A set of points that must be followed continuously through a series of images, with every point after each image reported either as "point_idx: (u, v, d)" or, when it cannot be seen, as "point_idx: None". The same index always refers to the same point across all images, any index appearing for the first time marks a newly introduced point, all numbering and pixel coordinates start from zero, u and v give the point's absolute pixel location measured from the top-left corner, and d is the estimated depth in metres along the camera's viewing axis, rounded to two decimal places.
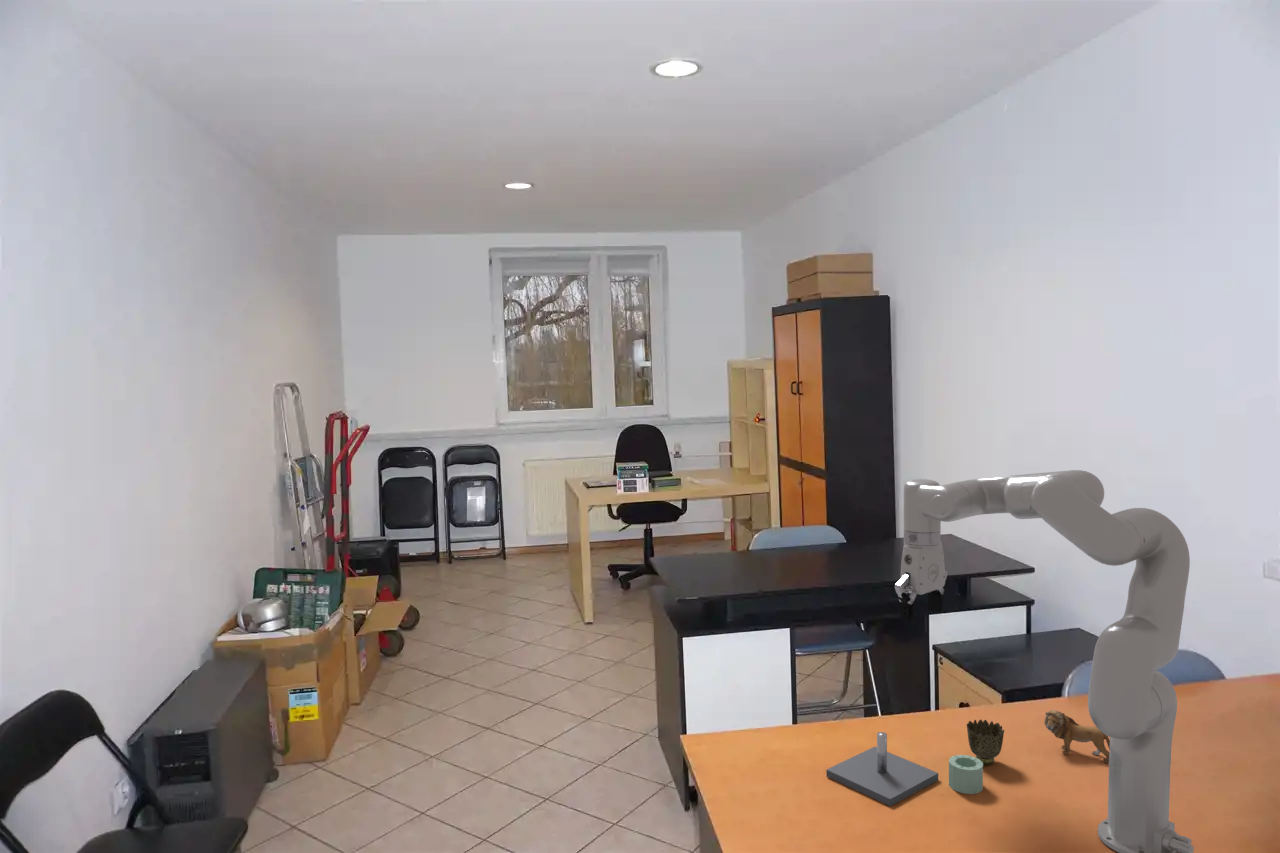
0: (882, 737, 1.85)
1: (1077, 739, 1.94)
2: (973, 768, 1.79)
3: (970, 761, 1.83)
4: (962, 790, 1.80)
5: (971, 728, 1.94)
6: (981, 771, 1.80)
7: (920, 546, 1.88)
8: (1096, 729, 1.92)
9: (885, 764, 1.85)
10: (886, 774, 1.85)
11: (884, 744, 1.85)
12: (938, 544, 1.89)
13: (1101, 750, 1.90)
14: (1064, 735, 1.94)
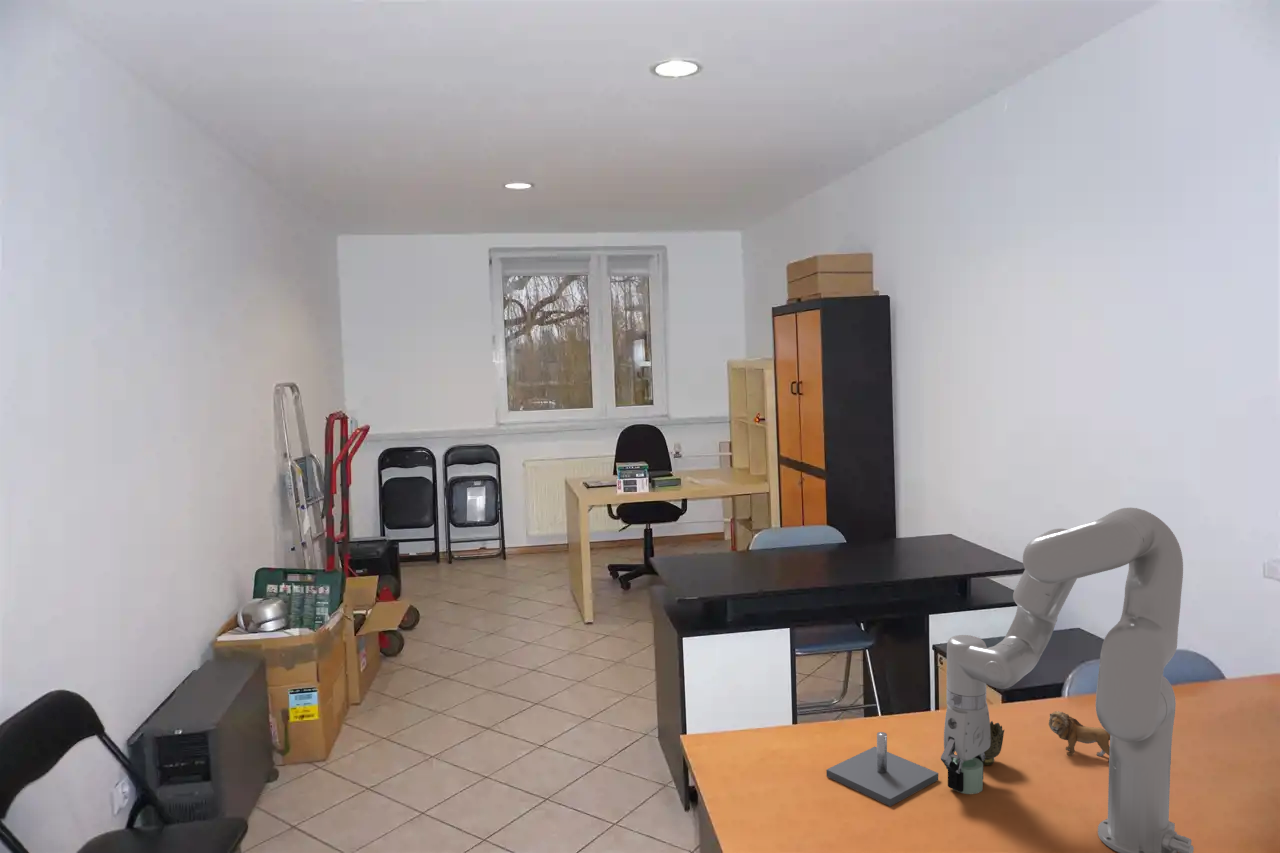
0: (882, 737, 1.85)
1: (1082, 740, 1.93)
2: (973, 768, 1.79)
3: (970, 761, 1.83)
4: None
5: None
6: (981, 771, 1.80)
7: (965, 710, 1.77)
8: (1101, 730, 1.91)
9: (885, 764, 1.85)
10: (886, 774, 1.85)
11: (884, 744, 1.85)
12: (984, 707, 1.78)
13: (1106, 751, 1.90)
14: (1068, 736, 1.94)
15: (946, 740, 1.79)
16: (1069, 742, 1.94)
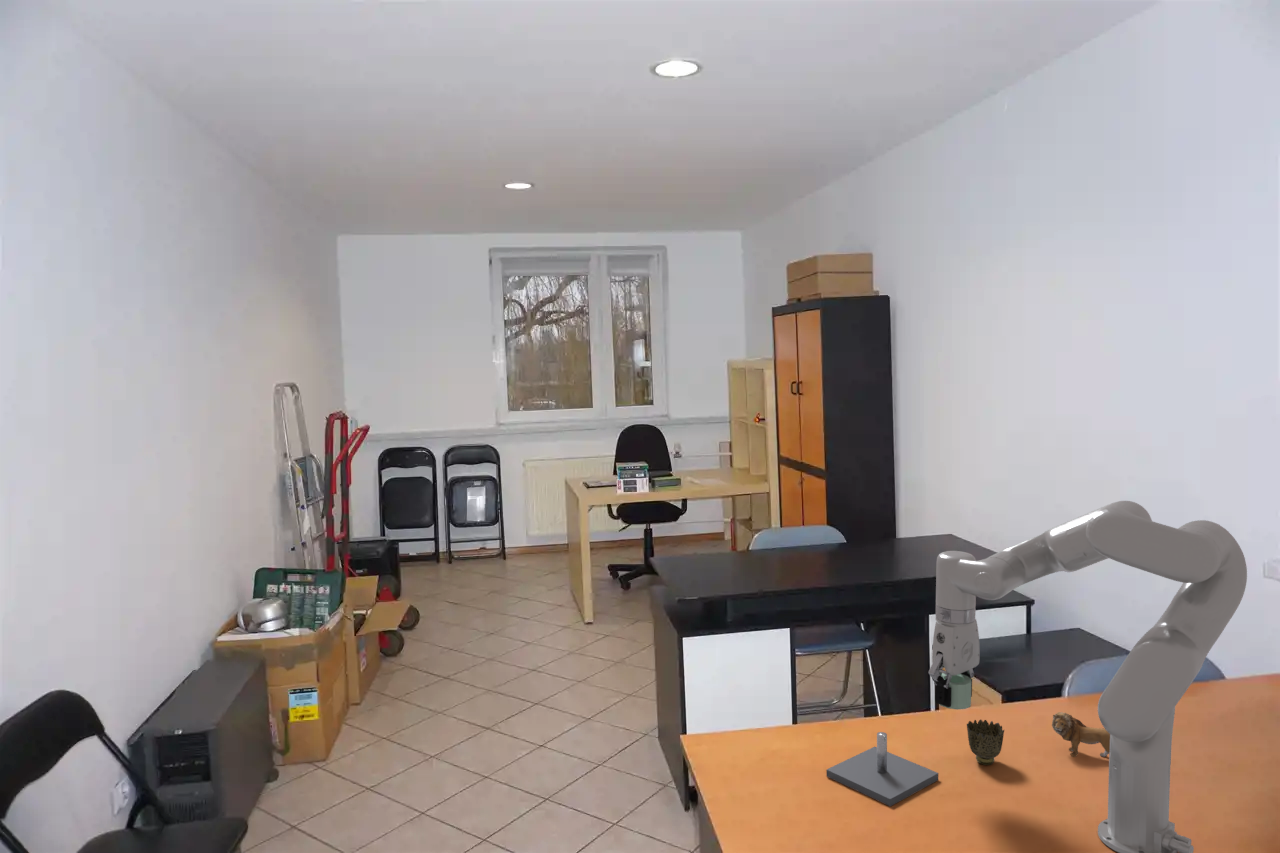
0: (882, 737, 1.85)
1: (1085, 741, 1.93)
2: (961, 683, 1.78)
3: (959, 678, 1.82)
4: None
5: (971, 728, 1.94)
6: (969, 687, 1.79)
7: (954, 624, 1.76)
8: (1104, 731, 1.91)
9: (885, 764, 1.85)
10: (886, 774, 1.85)
11: (884, 744, 1.85)
12: (973, 622, 1.77)
13: None
14: (1072, 737, 1.93)
15: (934, 655, 1.78)
16: (1072, 743, 1.93)
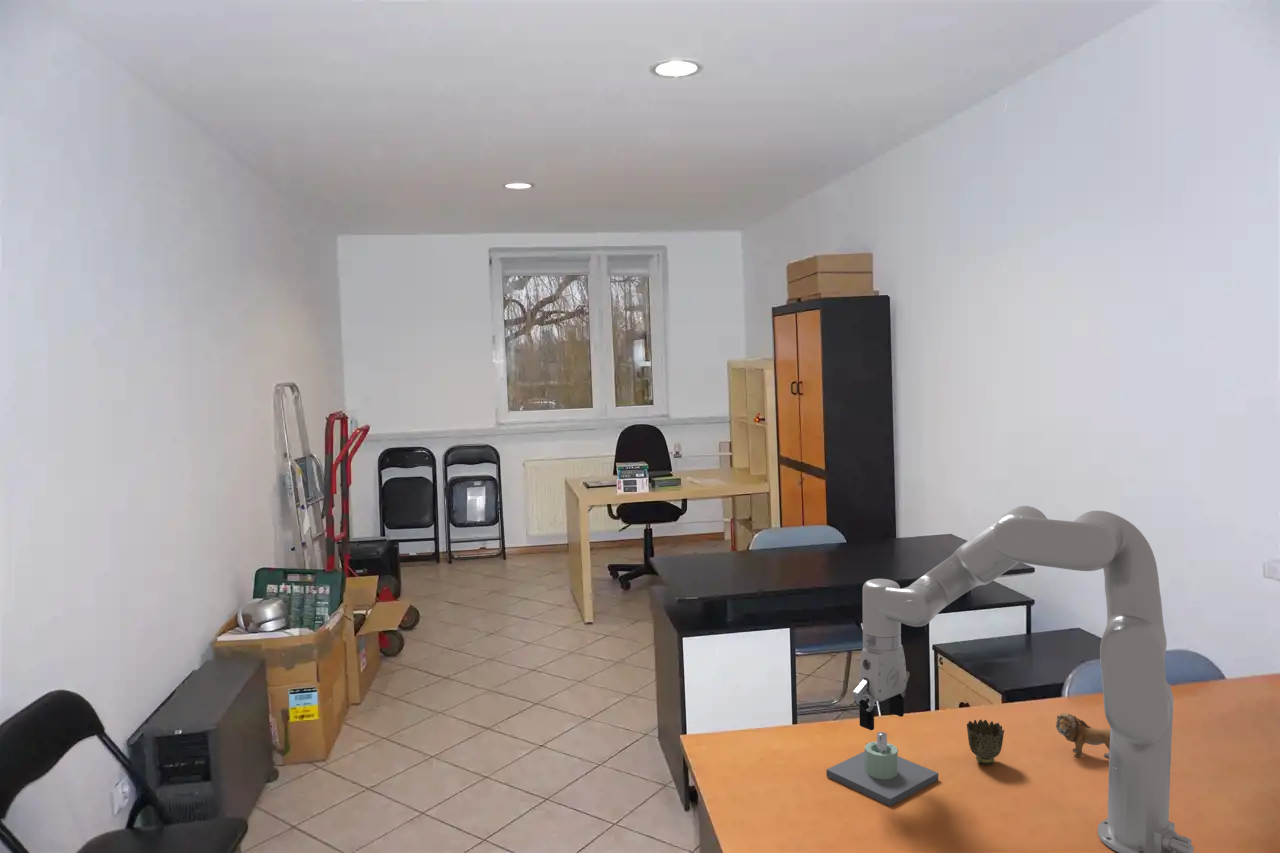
0: (882, 737, 1.85)
1: (1089, 742, 1.92)
2: (887, 754, 1.83)
3: None
4: (876, 775, 1.83)
5: (971, 728, 1.94)
6: (895, 757, 1.84)
7: (879, 651, 1.80)
8: (1109, 731, 1.90)
9: None
10: None
11: (884, 744, 1.85)
12: (898, 648, 1.81)
13: None
14: (1076, 738, 1.93)
15: (861, 681, 1.82)
16: (1077, 744, 1.93)
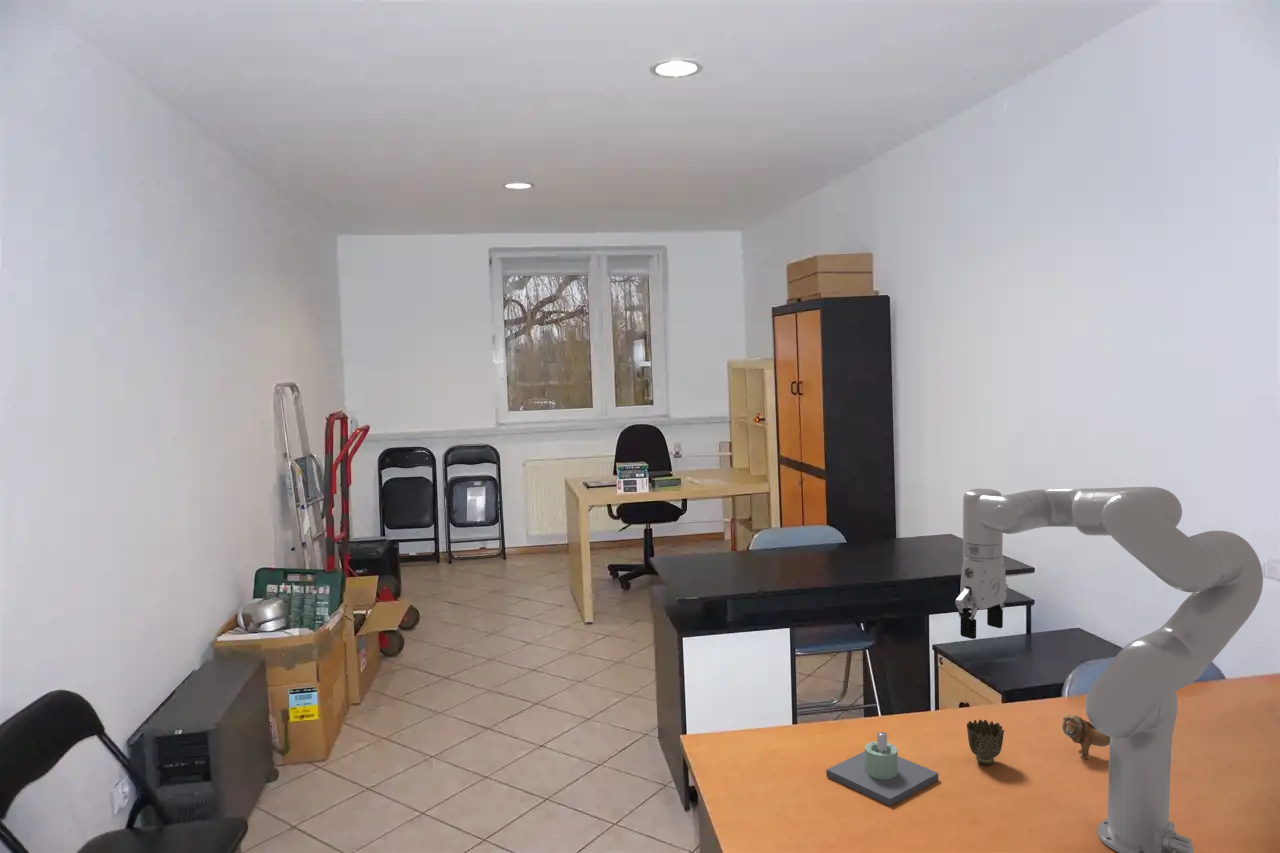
0: (882, 737, 1.85)
1: (1096, 743, 1.91)
2: (887, 754, 1.83)
3: None
4: (876, 775, 1.83)
5: (971, 728, 1.94)
6: (895, 757, 1.84)
7: (982, 559, 1.79)
8: None
9: None
10: None
11: (884, 744, 1.85)
12: (1000, 557, 1.80)
13: None
14: (1083, 740, 1.92)
15: (963, 590, 1.81)
16: (1083, 745, 1.92)
